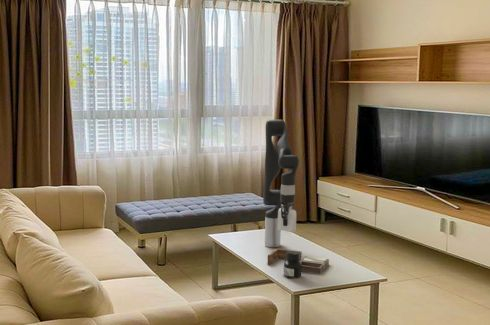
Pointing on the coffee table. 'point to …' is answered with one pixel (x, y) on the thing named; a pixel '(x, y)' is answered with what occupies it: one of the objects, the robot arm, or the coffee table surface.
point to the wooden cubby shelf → (278, 255)
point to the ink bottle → (292, 265)
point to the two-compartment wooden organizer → (314, 264)
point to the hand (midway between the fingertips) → (286, 224)
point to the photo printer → (291, 221)
